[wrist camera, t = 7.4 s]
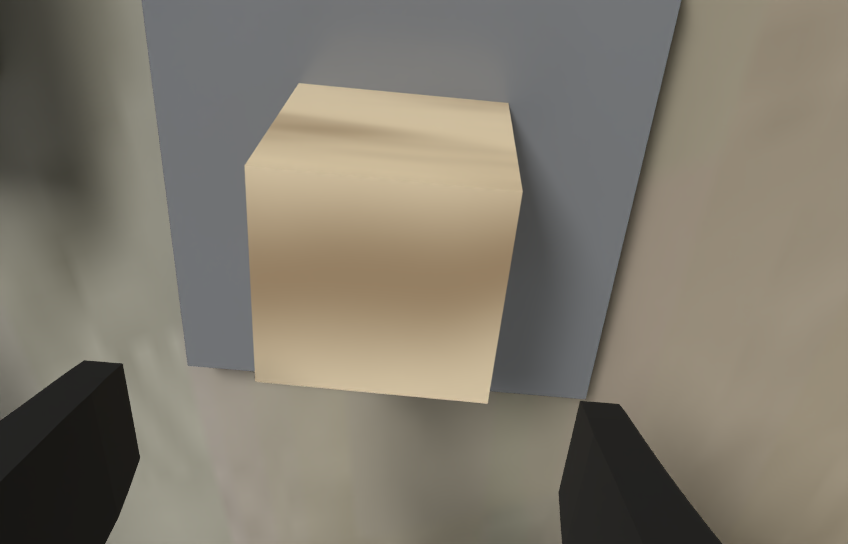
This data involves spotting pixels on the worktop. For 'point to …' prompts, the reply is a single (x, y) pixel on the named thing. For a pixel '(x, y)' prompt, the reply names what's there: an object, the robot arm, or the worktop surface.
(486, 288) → the beech cube
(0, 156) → the worktop surface
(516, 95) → the slate trivet
